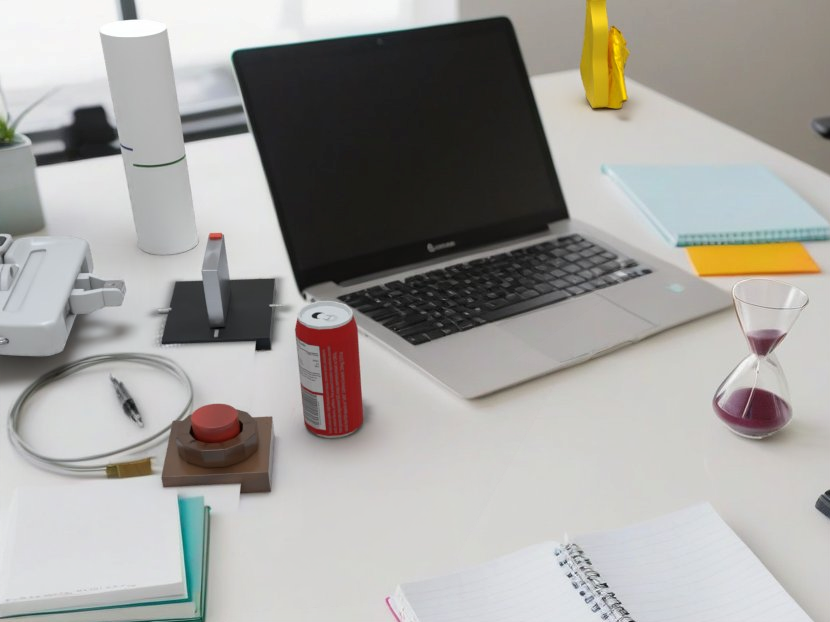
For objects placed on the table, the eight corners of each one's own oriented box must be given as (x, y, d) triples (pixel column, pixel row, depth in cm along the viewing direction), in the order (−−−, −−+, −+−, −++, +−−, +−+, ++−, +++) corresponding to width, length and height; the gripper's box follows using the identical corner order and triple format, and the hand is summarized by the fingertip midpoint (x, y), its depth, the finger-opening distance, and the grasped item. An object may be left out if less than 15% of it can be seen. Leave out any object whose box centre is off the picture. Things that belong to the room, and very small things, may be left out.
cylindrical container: (171, 225, 145) (137, 16, 130) (210, 240, 142) (180, 27, 127) (126, 244, 141) (85, 29, 126) (165, 260, 137) (128, 40, 122)
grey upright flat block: (225, 327, 121) (216, 267, 117) (209, 327, 121) (200, 268, 117) (231, 289, 128) (223, 231, 124) (216, 289, 128) (208, 232, 124)
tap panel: (281, 349, 121) (280, 335, 120) (152, 354, 119) (149, 340, 118) (285, 289, 132) (284, 276, 131) (167, 293, 130) (165, 280, 129)
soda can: (372, 415, 111) (365, 302, 104) (349, 445, 107) (340, 329, 100) (319, 404, 112) (309, 292, 105) (294, 434, 108) (282, 319, 101)
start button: (191, 445, 100) (188, 428, 99) (195, 421, 103) (193, 404, 102) (238, 443, 100) (236, 426, 99) (241, 419, 103) (239, 402, 102)
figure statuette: (636, 121, 182) (650, -30, 168) (587, 122, 181) (597, -30, 167) (613, 86, 196) (624, -56, 182) (568, 87, 195) (576, -56, 181)
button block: (165, 498, 100) (157, 459, 97) (176, 440, 107) (169, 403, 104) (270, 492, 101) (266, 454, 98) (274, 436, 108) (270, 399, 105)
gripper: (-52, 316, 107) (102, 310, 108) (-2, 226, 123) (131, 223, 125) (-35, 375, 111) (114, 369, 112) (12, 281, 127) (141, 277, 128)
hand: (123, 291), depth 119 cm, fingers closed
